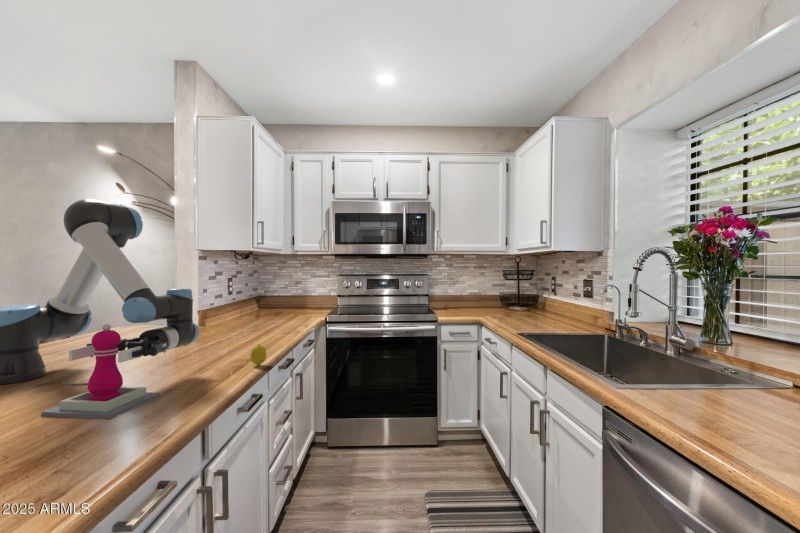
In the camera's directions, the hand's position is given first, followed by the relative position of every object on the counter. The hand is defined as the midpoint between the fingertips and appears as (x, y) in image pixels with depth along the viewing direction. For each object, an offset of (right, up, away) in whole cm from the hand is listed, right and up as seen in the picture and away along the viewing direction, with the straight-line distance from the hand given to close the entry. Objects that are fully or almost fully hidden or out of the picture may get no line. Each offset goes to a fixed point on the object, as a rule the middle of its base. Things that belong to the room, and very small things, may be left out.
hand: (94, 356), depth 93 cm
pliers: (-18, -14, +23) cm, 32 cm away
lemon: (+24, -14, +44) cm, 52 cm away
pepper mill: (0, -13, +3) cm, 13 cm away
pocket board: (0, -14, +3) cm, 14 cm away
